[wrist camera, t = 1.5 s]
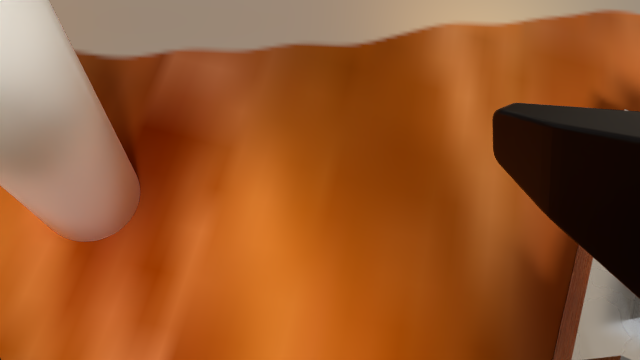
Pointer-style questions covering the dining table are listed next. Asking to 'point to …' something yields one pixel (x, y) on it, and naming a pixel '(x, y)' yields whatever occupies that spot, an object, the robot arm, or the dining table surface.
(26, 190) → the white tapered cylinder
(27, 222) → the dining table surface
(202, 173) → the dining table surface
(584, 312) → the jig
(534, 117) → the robot arm
